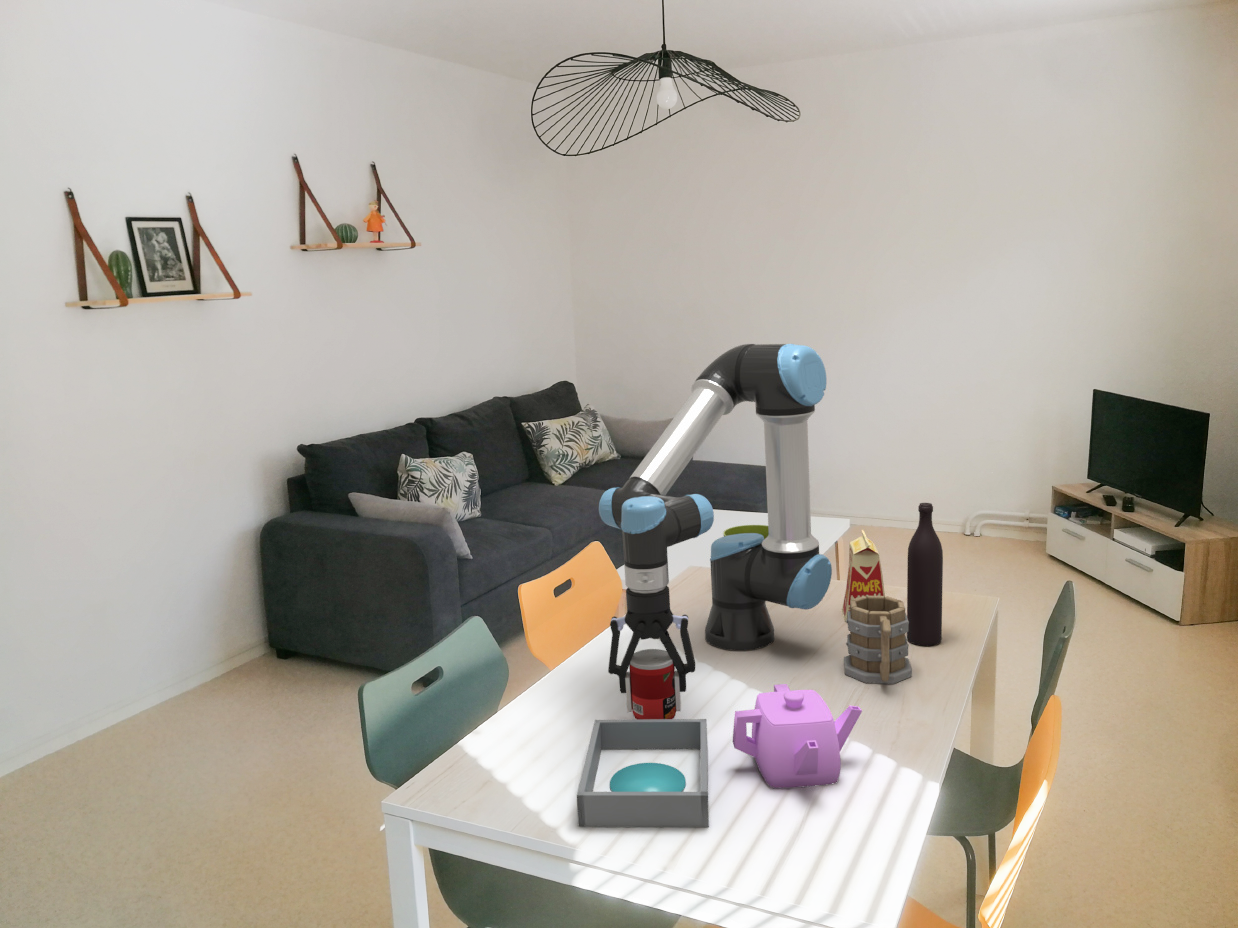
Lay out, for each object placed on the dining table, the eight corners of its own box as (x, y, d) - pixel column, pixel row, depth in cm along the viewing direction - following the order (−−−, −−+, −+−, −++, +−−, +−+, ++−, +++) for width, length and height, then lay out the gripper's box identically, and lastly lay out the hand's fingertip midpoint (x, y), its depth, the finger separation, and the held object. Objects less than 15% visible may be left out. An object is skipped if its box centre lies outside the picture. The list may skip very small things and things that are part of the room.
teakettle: (777, 731, 162) (775, 664, 160) (867, 759, 151) (867, 688, 149) (721, 772, 150) (719, 700, 148) (816, 806, 139) (815, 729, 137)
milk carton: (841, 610, 220) (841, 528, 216) (882, 610, 218) (882, 527, 215) (845, 623, 211) (845, 538, 207) (887, 624, 209) (888, 538, 206)
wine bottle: (948, 641, 198) (951, 503, 192) (927, 649, 194) (929, 509, 188) (921, 632, 204) (922, 498, 198) (899, 639, 200) (900, 504, 194)
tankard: (842, 657, 192) (842, 588, 190) (906, 659, 190) (907, 588, 187) (848, 699, 173) (847, 623, 170) (918, 702, 171) (919, 624, 168)
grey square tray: (596, 746, 160) (594, 719, 159) (707, 746, 158) (706, 718, 157) (578, 826, 136) (576, 795, 136) (708, 826, 135) (707, 795, 134)
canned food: (673, 725, 161) (670, 666, 159) (628, 724, 163) (624, 665, 161) (679, 705, 169) (676, 648, 166) (636, 704, 170) (633, 647, 168)
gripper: (585, 595, 158) (594, 719, 163) (707, 592, 156) (713, 717, 161) (590, 581, 166) (598, 699, 170) (707, 577, 164) (712, 697, 168)
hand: (654, 708), depth 166 cm, fingers closed on canned food, 8 cm apart
